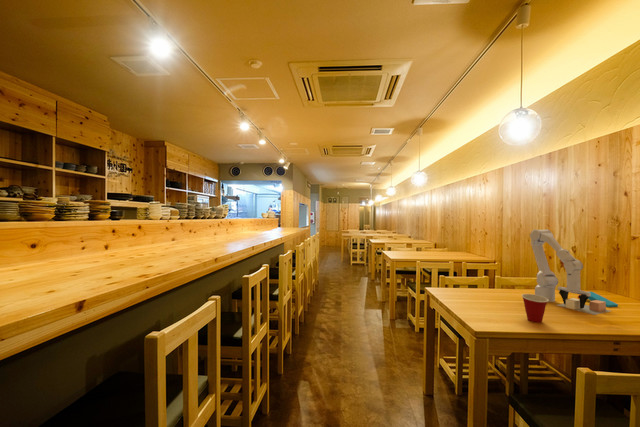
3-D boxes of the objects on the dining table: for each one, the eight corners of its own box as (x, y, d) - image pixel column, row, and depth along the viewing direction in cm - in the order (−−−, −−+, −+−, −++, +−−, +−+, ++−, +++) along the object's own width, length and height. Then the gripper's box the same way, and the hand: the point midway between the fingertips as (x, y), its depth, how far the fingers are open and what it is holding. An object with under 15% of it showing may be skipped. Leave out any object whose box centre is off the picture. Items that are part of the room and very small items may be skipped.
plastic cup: (534, 325, 137) (534, 300, 137) (516, 317, 147) (516, 294, 147) (554, 324, 138) (554, 299, 138) (535, 316, 149) (535, 293, 149)
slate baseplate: (555, 306, 166) (555, 304, 166) (572, 303, 173) (572, 301, 173) (594, 316, 150) (594, 314, 150) (612, 312, 156) (612, 310, 156)
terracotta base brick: (589, 309, 158) (589, 301, 158) (596, 308, 161) (596, 299, 161) (598, 311, 155) (598, 303, 155) (605, 310, 157) (605, 301, 157)
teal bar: (614, 315, 165) (582, 298, 182) (618, 304, 163) (585, 288, 181) (604, 316, 164) (573, 298, 181) (608, 305, 162) (576, 288, 179)
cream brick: (565, 307, 162) (565, 299, 162) (573, 306, 164) (573, 298, 164) (574, 309, 158) (574, 301, 158) (581, 308, 161) (581, 300, 161)
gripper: (554, 279, 167) (554, 303, 166) (585, 285, 153) (585, 310, 153) (561, 278, 169) (562, 301, 169) (592, 284, 156) (593, 309, 156)
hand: (573, 306), depth 161 cm, fingers open, 7 cm apart
